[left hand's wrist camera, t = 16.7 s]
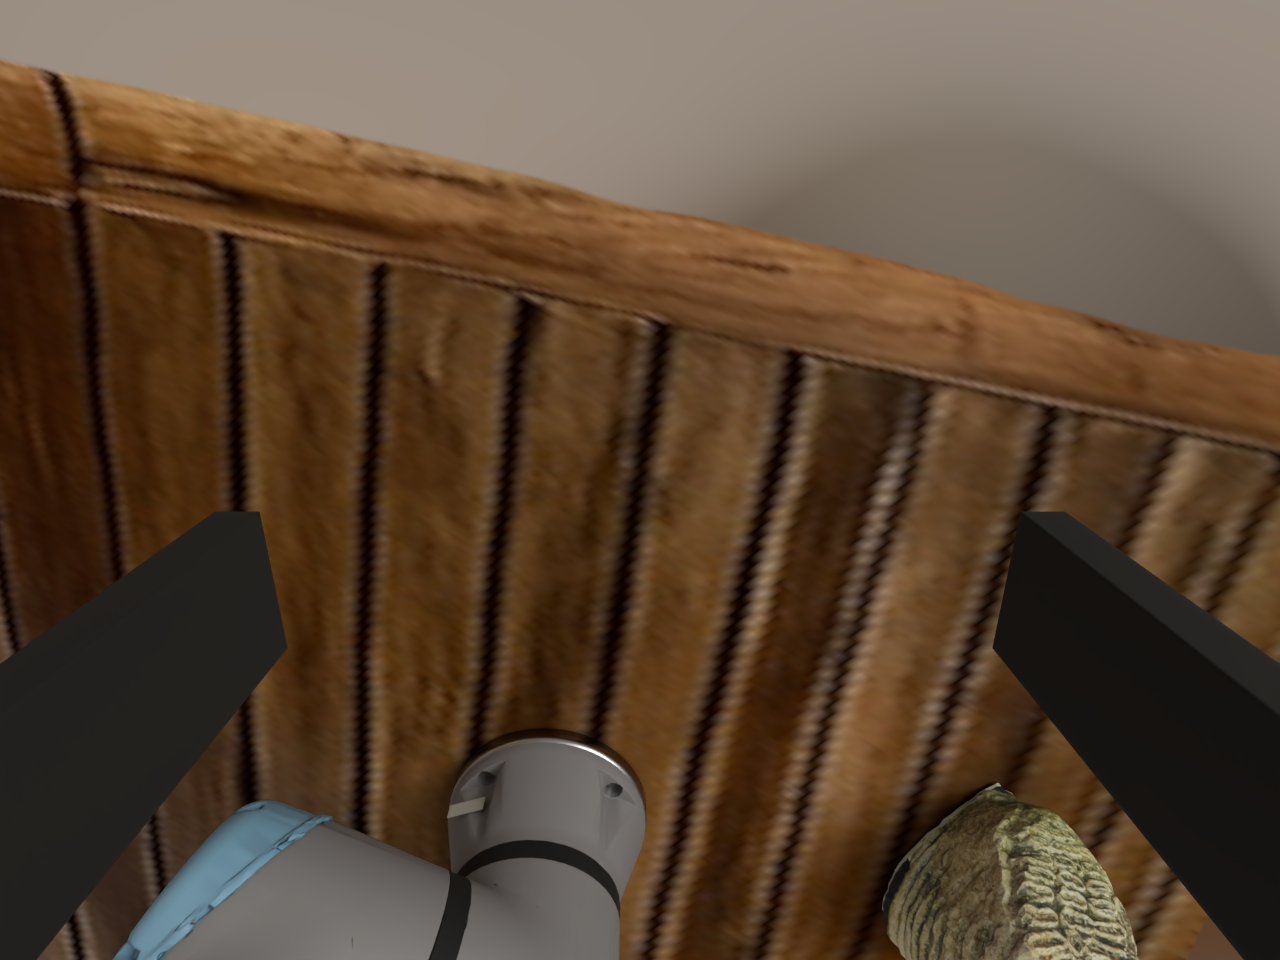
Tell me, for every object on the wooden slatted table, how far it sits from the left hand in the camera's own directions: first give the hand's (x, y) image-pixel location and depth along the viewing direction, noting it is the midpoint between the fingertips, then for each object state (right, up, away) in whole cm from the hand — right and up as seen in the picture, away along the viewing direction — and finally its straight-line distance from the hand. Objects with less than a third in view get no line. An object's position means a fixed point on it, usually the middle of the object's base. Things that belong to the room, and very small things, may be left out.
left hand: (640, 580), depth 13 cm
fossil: (+26, -28, +46) cm, 60 cm away
